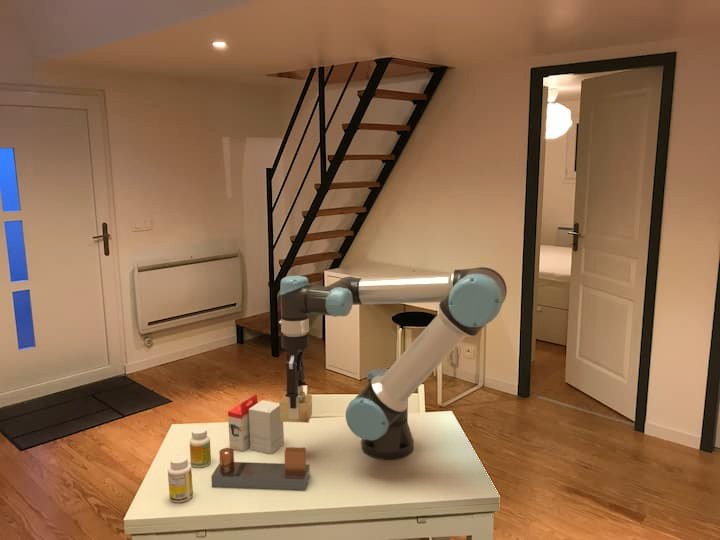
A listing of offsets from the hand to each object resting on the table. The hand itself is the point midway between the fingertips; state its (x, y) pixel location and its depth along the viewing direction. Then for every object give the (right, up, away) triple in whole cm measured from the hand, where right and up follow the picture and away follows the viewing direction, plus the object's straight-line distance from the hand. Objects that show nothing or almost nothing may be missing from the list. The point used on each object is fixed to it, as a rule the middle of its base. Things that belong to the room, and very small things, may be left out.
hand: (296, 412), depth 164 cm
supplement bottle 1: (-26, -17, -19) cm, 36 cm away
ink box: (-16, -12, +9) cm, 22 cm away
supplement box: (-9, -12, +8) cm, 17 cm away
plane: (-8, -15, -11) cm, 20 cm away
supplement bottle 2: (-26, -14, -2) cm, 30 cm away
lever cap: (0, -1, 0) cm, 1 cm away
